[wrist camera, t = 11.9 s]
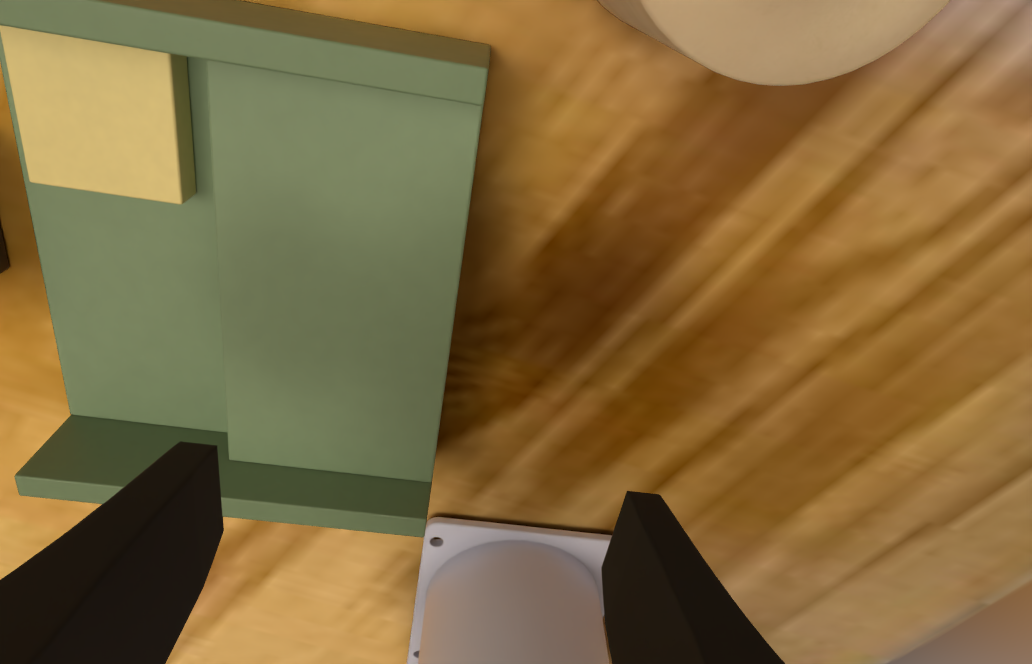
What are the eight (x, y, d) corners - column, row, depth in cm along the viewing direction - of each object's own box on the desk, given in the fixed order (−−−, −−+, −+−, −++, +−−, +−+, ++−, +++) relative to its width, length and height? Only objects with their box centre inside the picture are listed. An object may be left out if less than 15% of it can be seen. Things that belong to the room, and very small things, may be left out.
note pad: (197, 194, 18) (182, 205, 17) (51, 172, 18) (28, 183, 17) (187, 46, 16) (169, 51, 16) (24, 18, 16) (-4, 21, 15)
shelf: (435, 451, 25) (424, 538, 21) (94, 411, 23) (18, 496, 20) (491, 44, 18) (489, 68, 14) (14, -41, 17) (-125, -39, 13)
